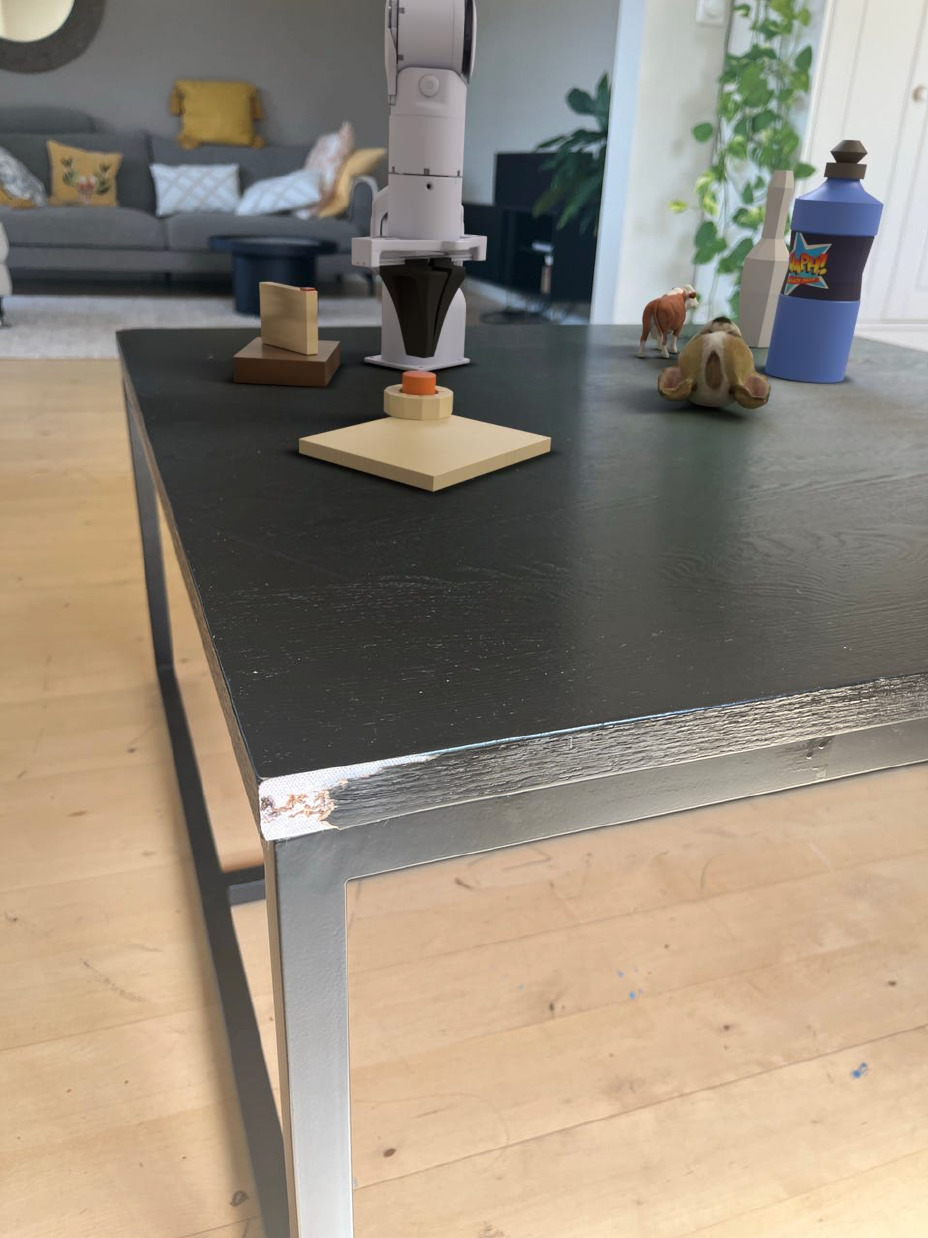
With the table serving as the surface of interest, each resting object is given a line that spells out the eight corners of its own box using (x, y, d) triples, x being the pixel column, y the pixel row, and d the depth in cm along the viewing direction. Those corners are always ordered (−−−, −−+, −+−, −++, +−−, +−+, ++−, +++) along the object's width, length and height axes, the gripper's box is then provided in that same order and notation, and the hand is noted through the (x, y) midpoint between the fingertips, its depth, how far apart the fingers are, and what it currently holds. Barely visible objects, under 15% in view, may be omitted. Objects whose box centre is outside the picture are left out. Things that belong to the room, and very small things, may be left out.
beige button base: (413, 414, 85) (414, 380, 84) (559, 449, 77) (562, 412, 76) (277, 447, 73) (276, 409, 72) (432, 492, 65) (434, 449, 64)
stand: (257, 360, 104) (256, 336, 103) (340, 364, 104) (340, 341, 103) (233, 382, 93) (232, 356, 92) (325, 387, 94) (325, 361, 93)
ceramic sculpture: (776, 307, 97) (784, 338, 84) (761, 391, 101) (766, 433, 89) (670, 300, 99) (662, 328, 86) (660, 383, 103) (650, 422, 91)
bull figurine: (697, 349, 126) (707, 284, 123) (659, 362, 116) (668, 292, 112) (666, 345, 128) (675, 281, 125) (626, 357, 118) (634, 288, 114)
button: (416, 389, 82) (417, 369, 82) (441, 395, 81) (442, 374, 80) (395, 394, 80) (395, 373, 80) (420, 400, 79) (421, 378, 78)
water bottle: (809, 385, 108) (860, 137, 97) (746, 369, 115) (788, 136, 104) (861, 379, 112) (915, 143, 102) (798, 365, 119) (842, 142, 109)
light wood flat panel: (261, 342, 100) (259, 279, 97) (272, 341, 101) (270, 279, 98) (307, 354, 95) (305, 289, 92) (318, 353, 96) (317, 288, 93)
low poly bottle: (782, 349, 130) (816, 171, 120) (736, 347, 130) (766, 168, 120) (769, 341, 136) (801, 171, 126) (725, 339, 136) (753, 168, 126)
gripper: (404, 175, 66) (399, 374, 72) (521, 180, 77) (508, 353, 82) (330, 170, 70) (331, 359, 75) (451, 176, 80) (444, 341, 86)
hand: (419, 355), depth 79 cm, fingers closed
